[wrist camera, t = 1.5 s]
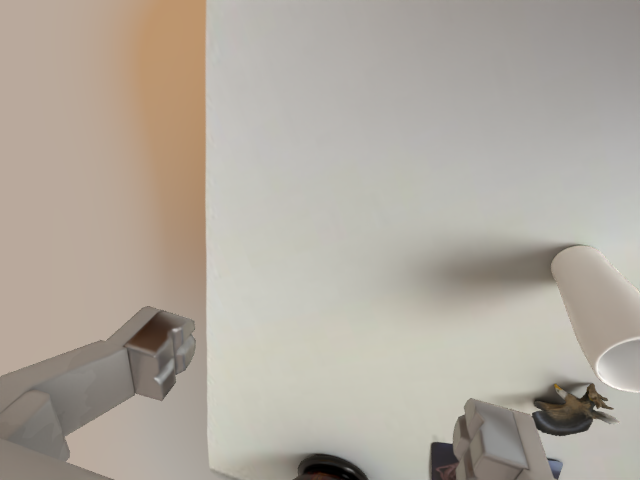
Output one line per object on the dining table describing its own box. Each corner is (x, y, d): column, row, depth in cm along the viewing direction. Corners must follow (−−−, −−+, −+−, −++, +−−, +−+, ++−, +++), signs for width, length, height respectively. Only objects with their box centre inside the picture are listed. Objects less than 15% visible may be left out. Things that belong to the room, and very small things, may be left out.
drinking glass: (544, 239, 40) (598, 335, 28) (615, 235, 38) (709, 336, 26) (540, 286, 43) (587, 391, 31) (606, 285, 41) (685, 396, 29)
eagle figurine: (565, 368, 47) (515, 405, 51) (615, 419, 42) (555, 458, 46) (584, 370, 52) (537, 405, 55) (632, 417, 46) (576, 452, 50)
